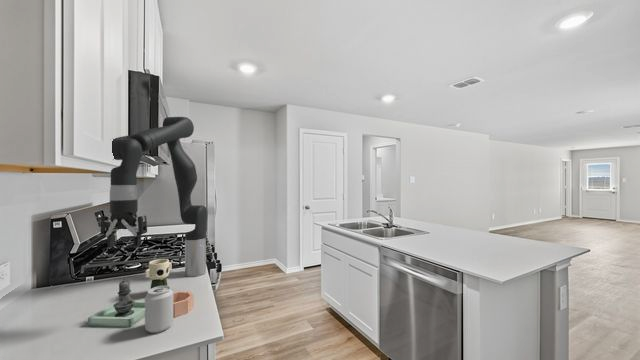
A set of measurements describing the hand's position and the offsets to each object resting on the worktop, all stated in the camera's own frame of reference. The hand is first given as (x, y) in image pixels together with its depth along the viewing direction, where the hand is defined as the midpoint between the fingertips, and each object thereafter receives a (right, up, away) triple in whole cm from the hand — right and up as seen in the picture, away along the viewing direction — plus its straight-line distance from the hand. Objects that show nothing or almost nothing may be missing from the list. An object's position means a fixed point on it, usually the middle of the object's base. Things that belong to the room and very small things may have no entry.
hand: (124, 247), depth 89 cm
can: (+16, -24, -7) cm, 29 cm away
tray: (0, -23, 0) cm, 23 cm away
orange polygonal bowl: (+15, -23, +4) cm, 28 cm away
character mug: (+1, -24, +18) cm, 30 cm away
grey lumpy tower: (0, -23, 0) cm, 23 cm away
